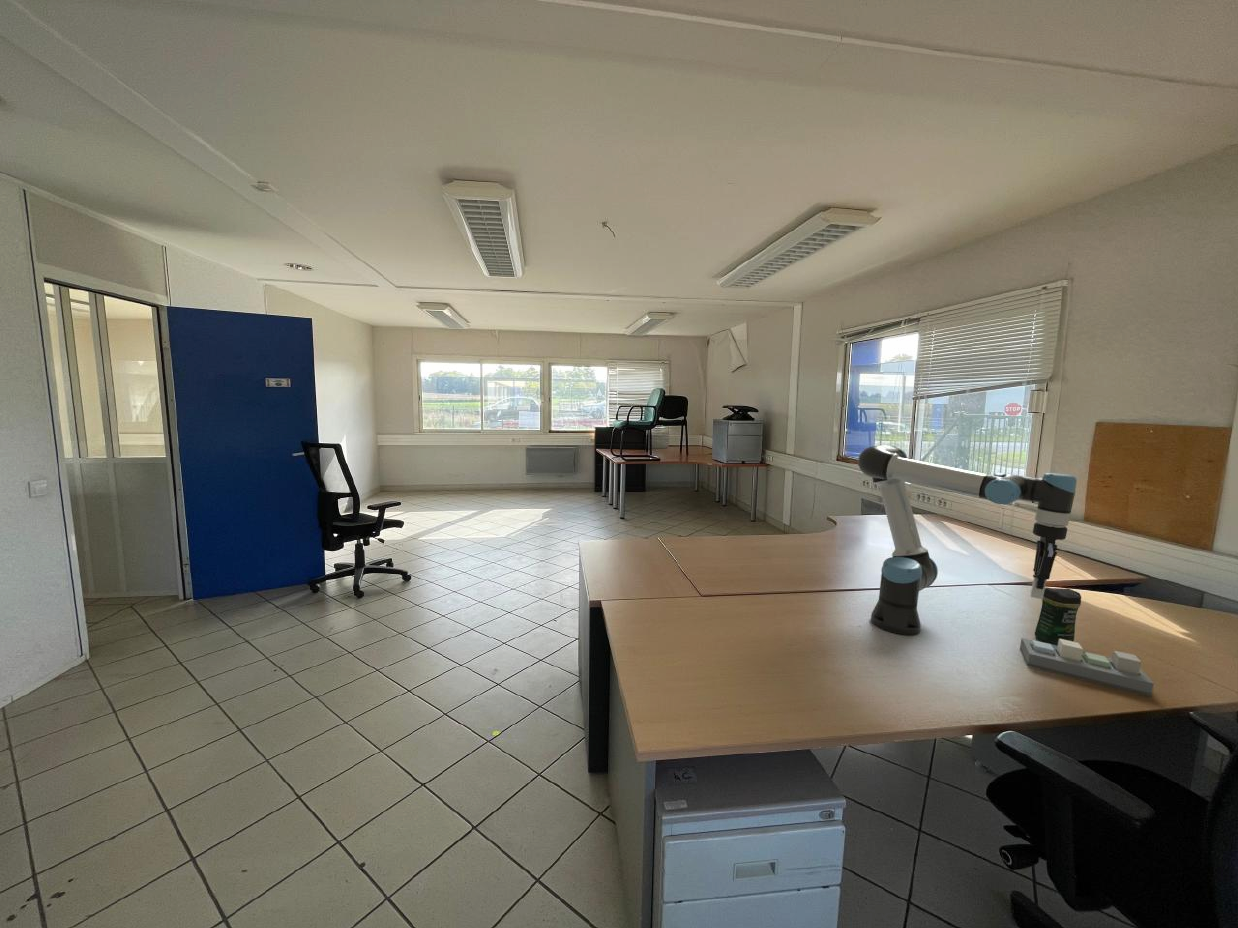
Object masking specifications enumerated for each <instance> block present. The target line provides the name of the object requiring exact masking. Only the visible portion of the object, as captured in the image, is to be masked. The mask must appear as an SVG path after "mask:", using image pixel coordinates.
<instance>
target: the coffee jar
mask: <svg viewBox="0 0 1238 928" xmlns="http://www.w3.org/2000/svg"><path fill="white" fill-rule="evenodd" d="M1081 605H1082V596H1081V593H1080V592H1078V591H1076V590H1073V589H1070V588H1068V587H1067V588H1066V587H1065V588H1062V587H1061V588H1057V587H1053V588H1052V587H1051V588H1050V587H1045V591H1044V596H1043V599H1041V609H1040V612H1039V616H1038V621H1037V623H1036V626H1035V627H1036V628H1035V631H1034V636H1035V637H1036V638H1037V639H1038V640H1040V642H1043V643H1048V644H1052V645H1056V646H1058V641H1059V639H1064V640H1068V641H1073V642H1075V633H1076V631H1075V630H1076V622H1077V621H1076V620H1077V619H1076V618H1077V614H1078V611H1079V608H1080V607H1081Z"/></svg>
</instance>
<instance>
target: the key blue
mask: <svg viewBox="0 0 1238 928" xmlns="http://www.w3.org/2000/svg"><path fill="white" fill-rule="evenodd" d="M1031 640H1032V644H1031V647H1032V649H1033V650H1034V651H1038V652H1042V653H1046V654H1051V655H1054V649H1053V647H1052V645H1051V644H1049V643H1046V642H1043V641H1038V640H1033V639H1031Z"/></svg>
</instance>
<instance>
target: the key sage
mask: <svg viewBox="0 0 1238 928" xmlns="http://www.w3.org/2000/svg"><path fill="white" fill-rule="evenodd" d="M1083 652H1084V656H1083V658H1084V660H1085V661H1086V663H1089V664H1093V665H1098V666H1102V667H1106V668H1109V665H1110V663H1109V661H1108V660H1107V659H1106V657H1107V656H1104V655H1101V654H1098V653H1097V654H1096V653H1091V652H1088V651H1087V652H1086V651H1083Z"/></svg>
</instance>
